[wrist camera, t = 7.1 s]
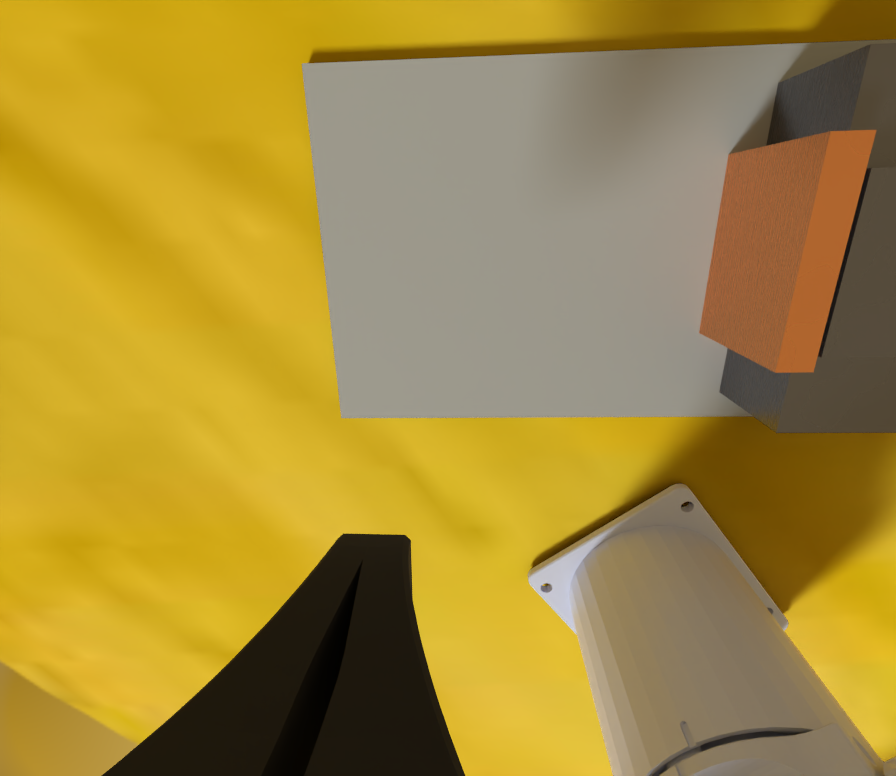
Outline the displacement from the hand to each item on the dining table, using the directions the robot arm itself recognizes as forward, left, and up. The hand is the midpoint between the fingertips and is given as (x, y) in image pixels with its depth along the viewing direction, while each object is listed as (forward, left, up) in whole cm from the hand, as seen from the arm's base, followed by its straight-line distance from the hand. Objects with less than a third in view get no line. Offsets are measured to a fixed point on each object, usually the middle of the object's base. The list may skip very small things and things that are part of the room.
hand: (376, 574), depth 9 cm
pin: (-5, -15, -10) cm, 18 cm away
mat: (-1, -9, -10) cm, 14 cm away
